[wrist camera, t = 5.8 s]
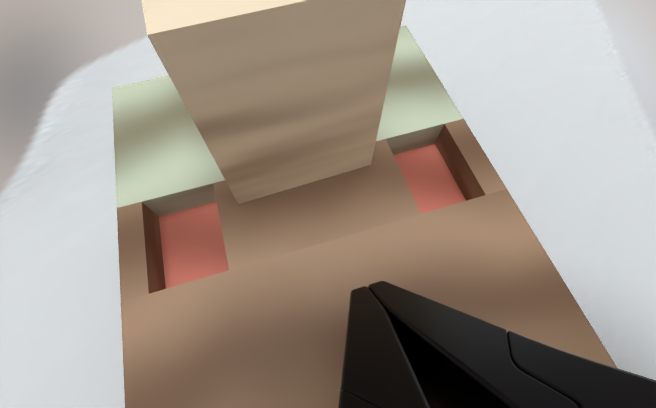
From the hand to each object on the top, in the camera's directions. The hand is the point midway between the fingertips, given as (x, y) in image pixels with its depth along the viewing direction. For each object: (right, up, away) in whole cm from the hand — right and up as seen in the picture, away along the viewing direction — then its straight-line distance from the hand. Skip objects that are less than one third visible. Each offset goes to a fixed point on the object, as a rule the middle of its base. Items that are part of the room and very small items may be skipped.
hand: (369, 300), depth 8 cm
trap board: (-1, +1, +7) cm, 7 cm away
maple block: (-3, +7, +8) cm, 11 cm away
